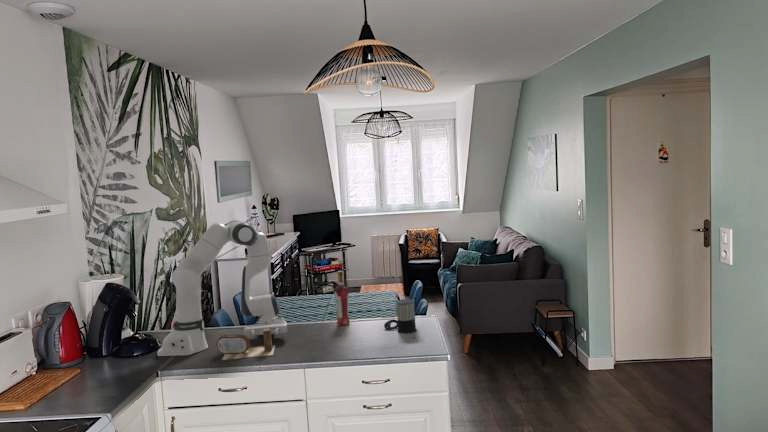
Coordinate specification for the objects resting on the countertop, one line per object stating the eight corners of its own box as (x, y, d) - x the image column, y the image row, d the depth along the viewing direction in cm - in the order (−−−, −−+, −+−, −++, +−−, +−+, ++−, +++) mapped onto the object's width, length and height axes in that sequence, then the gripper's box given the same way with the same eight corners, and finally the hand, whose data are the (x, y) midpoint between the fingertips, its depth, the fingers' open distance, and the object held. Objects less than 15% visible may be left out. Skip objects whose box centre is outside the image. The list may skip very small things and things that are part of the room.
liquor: (334, 324, 300) (330, 271, 297) (347, 321, 303) (343, 269, 301) (339, 327, 293) (336, 273, 291) (352, 324, 297) (349, 271, 294)
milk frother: (416, 333, 275) (414, 302, 274) (383, 335, 276) (381, 304, 274) (415, 325, 289) (414, 296, 288) (384, 326, 290) (382, 297, 288)
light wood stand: (222, 360, 252) (220, 338, 251) (227, 350, 266) (225, 329, 265) (272, 355, 254) (271, 333, 253) (275, 345, 268) (273, 325, 267)
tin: (251, 351, 260) (249, 333, 259) (248, 354, 257) (247, 335, 256) (219, 352, 262) (217, 334, 261) (216, 355, 259) (214, 336, 258)
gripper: (245, 321, 281) (241, 329, 267) (287, 317, 283) (285, 325, 269) (246, 333, 281) (242, 342, 267) (288, 330, 283) (286, 338, 269)
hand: (264, 333), depth 268 cm, fingers open, 8 cm apart
